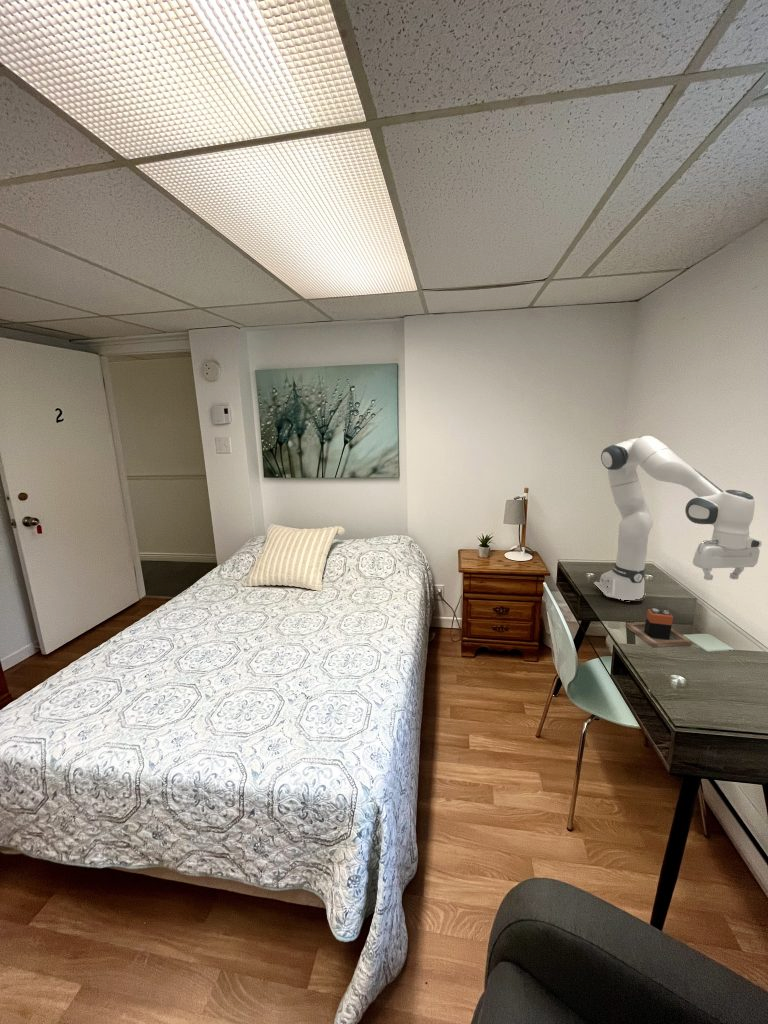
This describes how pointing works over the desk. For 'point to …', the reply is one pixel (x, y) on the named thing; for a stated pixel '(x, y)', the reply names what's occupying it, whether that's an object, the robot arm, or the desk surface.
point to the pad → (708, 642)
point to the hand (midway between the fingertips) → (720, 579)
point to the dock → (664, 643)
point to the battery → (658, 623)
